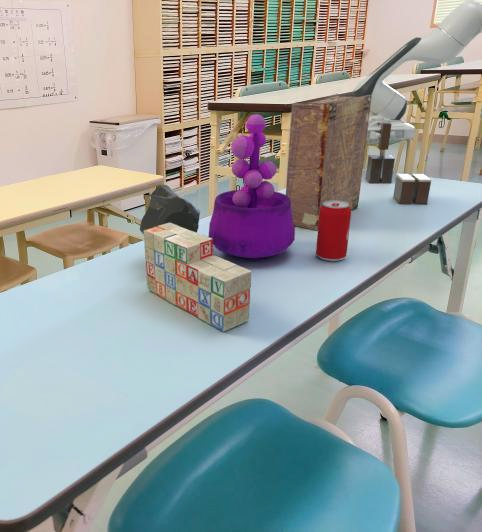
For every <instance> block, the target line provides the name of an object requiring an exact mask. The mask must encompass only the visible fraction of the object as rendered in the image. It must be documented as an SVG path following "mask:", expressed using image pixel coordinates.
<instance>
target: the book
mask: <svg viewBox="0 0 482 532" xmlns="http://www.w3.org/2000/svg"><path fill="white" fill-rule="evenodd" d="M371 97H372V95H366V96H362V97H354V96H343V95H342V96H341V95H339V94H338V93H335V94H330V95H325V96H320V97H315V98H311V99H306V100H302V101H296V102H293V103H292V104H291V113H290V127H289V142H288V157H287V170H286V184H285V195H286V196H288V197H289V198H290V200H291V210H292V218H293V223H294V227H299V228H304V229H307V230H315V231H318V223H319V212H320V208H321V207H322V205H323V202H325V201H329V200H339V201H345V202H348V203H349V206H350V209H351V212H352V210H353V211H354V210H356V209H358V208H359V203H360V194H361V185H362V177H363V171H364V162H365V154H366V146H367V145H366V144H367V141H366V138H367V130H368V122H369V113H370V105H371ZM357 207H358V208H357Z"/></svg>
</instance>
